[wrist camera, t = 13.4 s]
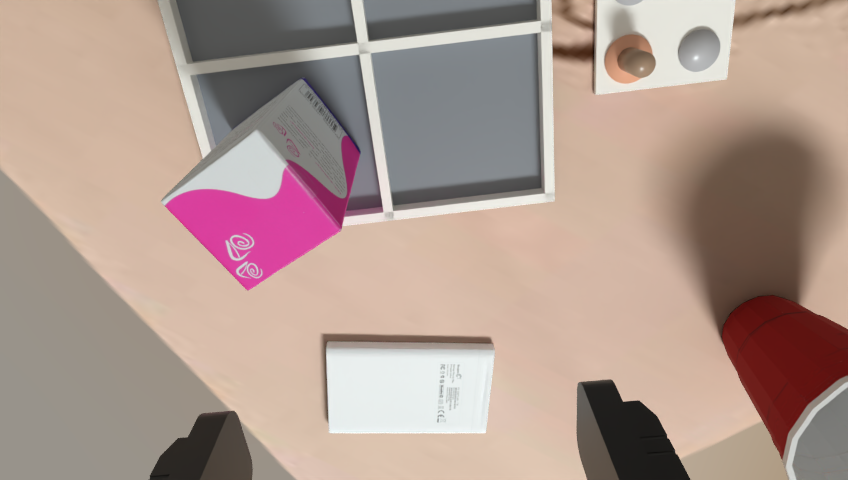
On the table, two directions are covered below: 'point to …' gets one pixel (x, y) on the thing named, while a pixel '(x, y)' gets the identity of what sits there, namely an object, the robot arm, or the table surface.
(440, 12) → the socket board
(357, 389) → the external hard drive
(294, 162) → the supplement box
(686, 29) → the tile
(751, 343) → the plastic cup
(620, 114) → the table surface
